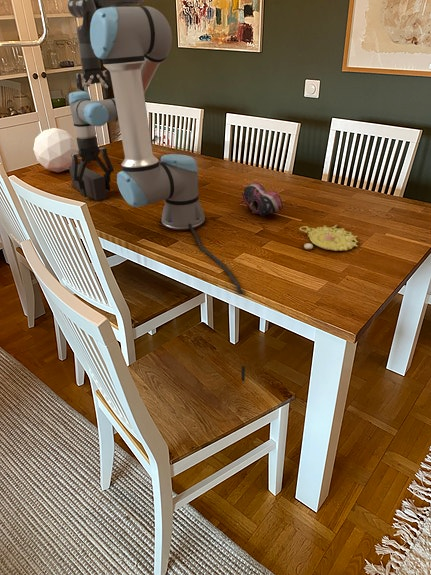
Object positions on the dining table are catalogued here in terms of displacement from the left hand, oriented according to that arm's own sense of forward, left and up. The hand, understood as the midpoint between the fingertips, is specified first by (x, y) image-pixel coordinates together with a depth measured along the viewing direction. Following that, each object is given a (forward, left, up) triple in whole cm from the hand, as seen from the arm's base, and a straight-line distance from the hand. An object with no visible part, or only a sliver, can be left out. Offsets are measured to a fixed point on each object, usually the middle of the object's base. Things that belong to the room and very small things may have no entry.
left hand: (96, 99), depth 185 cm
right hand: (+24, +13, -31) cm, 41 cm away
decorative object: (+24, +108, -32) cm, 115 cm away
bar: (+21, +7, -32) cm, 39 cm away
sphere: (+4, -26, -32) cm, 42 cm away
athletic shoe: (+12, +78, -32) cm, 86 cm away
